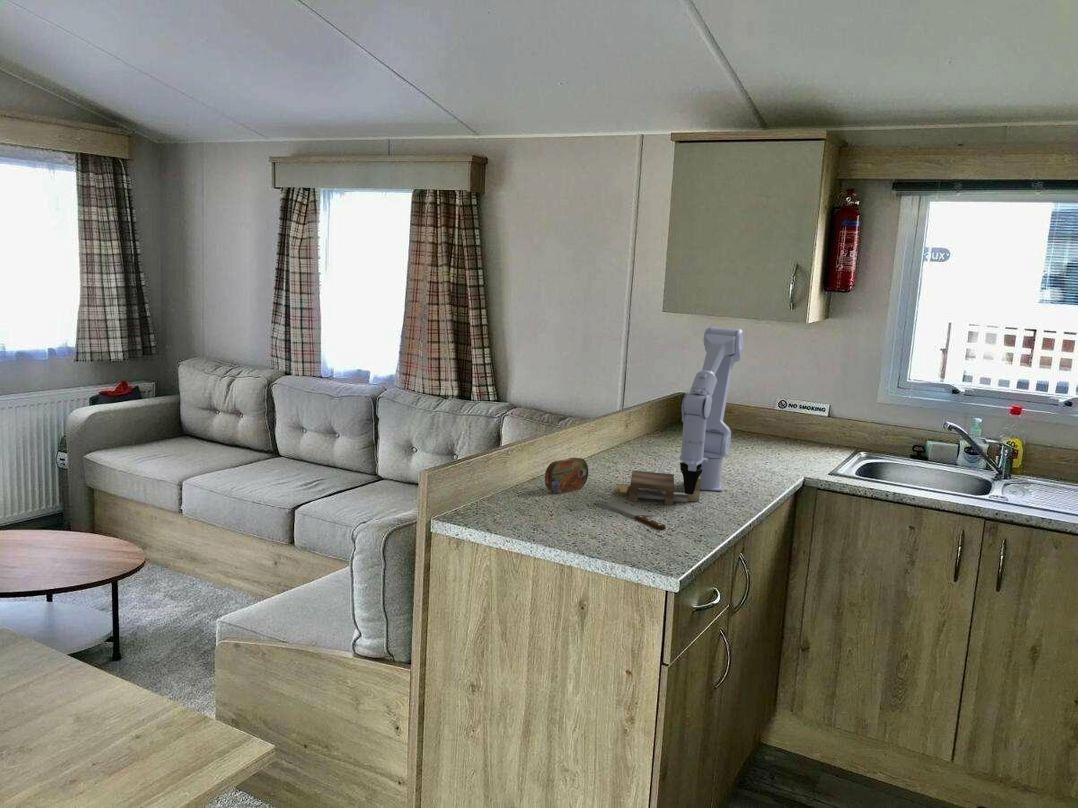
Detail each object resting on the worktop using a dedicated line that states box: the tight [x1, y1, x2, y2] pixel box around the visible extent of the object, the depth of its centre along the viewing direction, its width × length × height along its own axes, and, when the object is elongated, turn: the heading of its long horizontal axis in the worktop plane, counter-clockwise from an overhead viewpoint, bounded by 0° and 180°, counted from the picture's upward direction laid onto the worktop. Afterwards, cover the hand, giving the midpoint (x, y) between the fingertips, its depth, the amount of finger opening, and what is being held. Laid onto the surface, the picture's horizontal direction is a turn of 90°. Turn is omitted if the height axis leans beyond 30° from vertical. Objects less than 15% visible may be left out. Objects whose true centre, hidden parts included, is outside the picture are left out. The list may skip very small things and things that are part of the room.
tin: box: [544, 457, 589, 495], centre depth 234 cm, size 15×3×8 cm, turn 137°
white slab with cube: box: [637, 476, 701, 503], centre depth 233 cm, size 6×16×6 cm, turn 82°
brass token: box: [615, 483, 630, 497], centre depth 235 cm, size 5×5×2 cm
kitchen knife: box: [596, 500, 666, 531], centre depth 215 cm, size 24×1×10 cm
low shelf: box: [628, 470, 675, 506], centre depth 233 cm, size 14×11×5 cm
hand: (688, 492), depth 232 cm, fingers closed on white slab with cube, 3 cm apart
